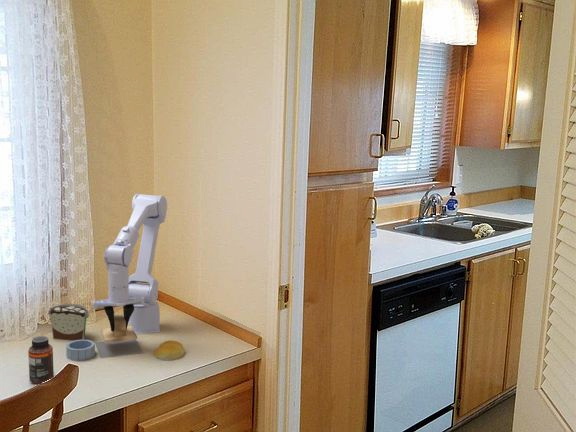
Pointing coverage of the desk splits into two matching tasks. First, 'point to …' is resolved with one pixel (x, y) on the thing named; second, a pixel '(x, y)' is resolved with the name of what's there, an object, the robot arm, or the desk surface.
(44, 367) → the supplement bottle
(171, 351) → the bread roll
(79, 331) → the food container
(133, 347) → the mat
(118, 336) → the lid
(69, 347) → the bowl
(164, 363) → the desk surface
